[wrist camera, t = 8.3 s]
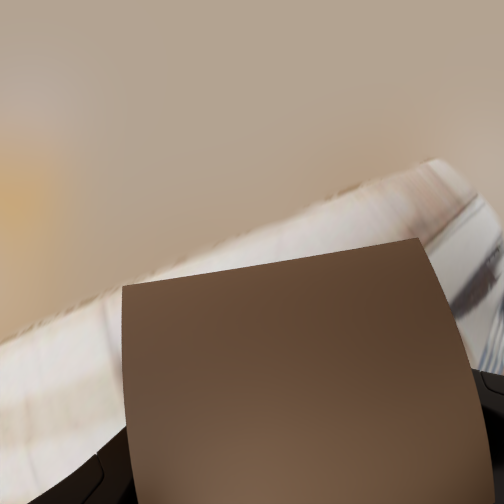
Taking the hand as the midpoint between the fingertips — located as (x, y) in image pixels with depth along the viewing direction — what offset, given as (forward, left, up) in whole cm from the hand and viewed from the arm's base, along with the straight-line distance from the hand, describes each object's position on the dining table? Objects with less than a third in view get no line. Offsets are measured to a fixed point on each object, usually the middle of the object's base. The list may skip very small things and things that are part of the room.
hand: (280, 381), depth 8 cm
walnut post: (-1, +1, -7) cm, 7 cm away
